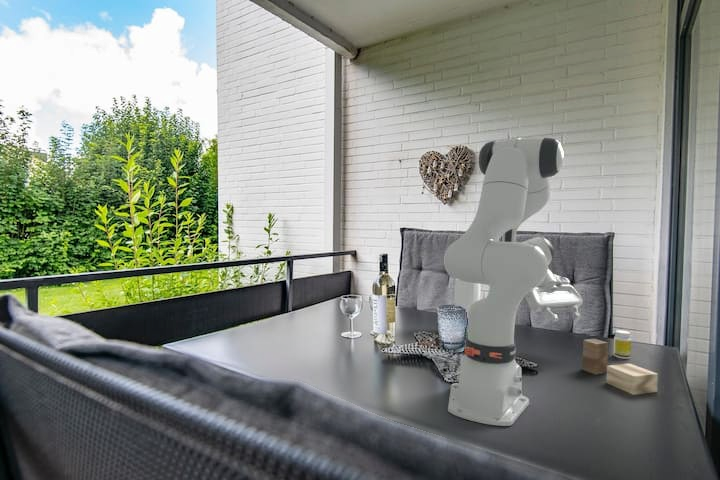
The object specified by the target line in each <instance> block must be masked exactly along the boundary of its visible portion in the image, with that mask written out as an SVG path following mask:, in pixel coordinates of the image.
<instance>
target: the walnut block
mask: <svg viewBox="0 0 720 480" xmlns="http://www.w3.org/2000/svg"><path fill="white" fill-rule="evenodd" d="M582 344H583V346H582V365H581V366H582V370H583V371H586V372H588V373H591V374H593V375H595V376H596V375H602V374H607V366H608V356H609V355H608V352H609V342H607V341H603V340H600V339H597V338H588V339H583V341H582Z"/></svg>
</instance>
